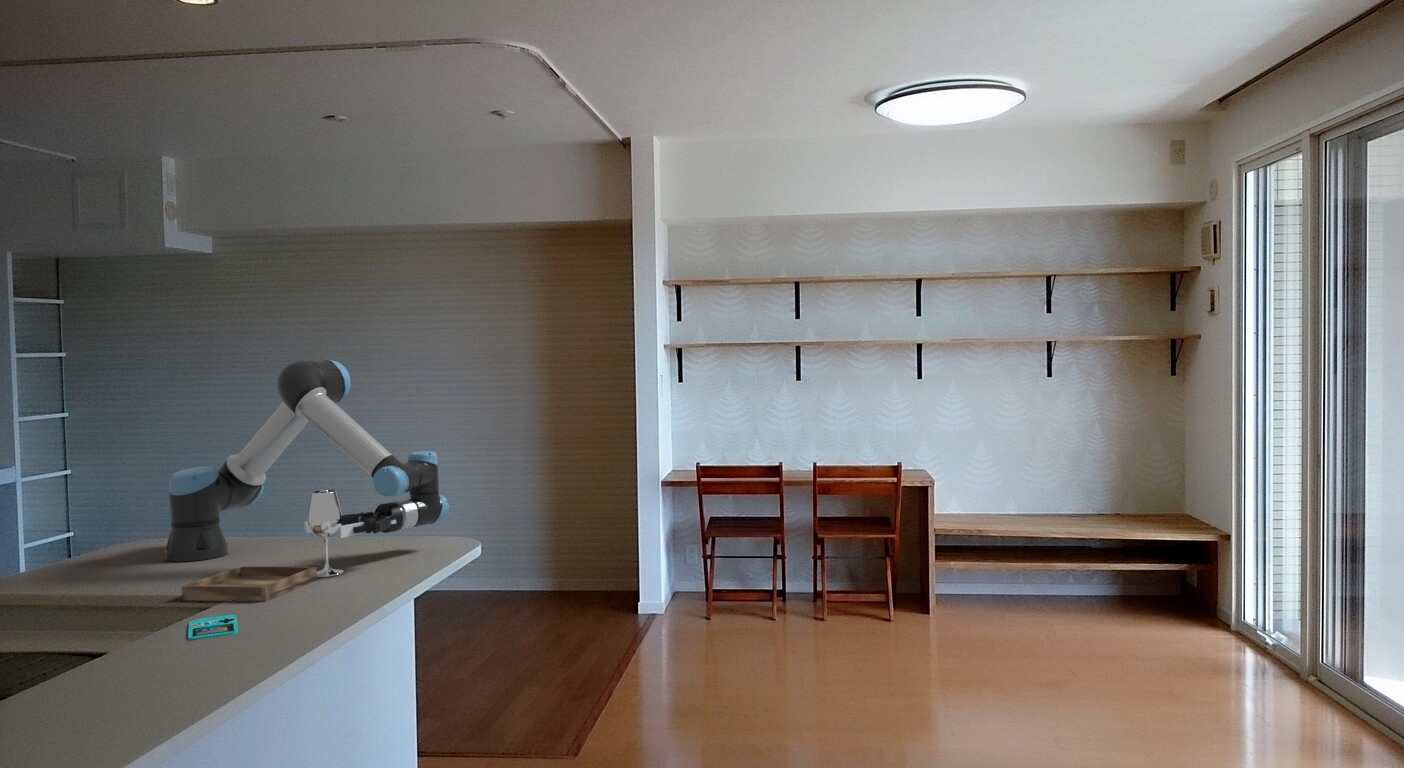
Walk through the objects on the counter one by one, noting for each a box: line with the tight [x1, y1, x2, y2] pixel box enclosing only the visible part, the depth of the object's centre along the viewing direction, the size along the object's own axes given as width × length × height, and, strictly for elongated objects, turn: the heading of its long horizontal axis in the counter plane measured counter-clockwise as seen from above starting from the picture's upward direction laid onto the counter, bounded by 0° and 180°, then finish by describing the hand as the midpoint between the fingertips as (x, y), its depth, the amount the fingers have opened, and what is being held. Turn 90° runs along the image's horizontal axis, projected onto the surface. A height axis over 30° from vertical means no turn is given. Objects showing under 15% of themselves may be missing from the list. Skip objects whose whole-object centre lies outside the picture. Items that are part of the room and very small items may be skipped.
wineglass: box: [307, 489, 345, 578], centre depth 236 cm, size 8×8×20 cm
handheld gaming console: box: [187, 614, 239, 640], centre depth 190 cm, size 8×1×15 cm
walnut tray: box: [181, 565, 318, 602], centre depth 222 cm, size 20×20×3 cm
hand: (322, 529), depth 235 cm, fingers open, 13 cm apart
